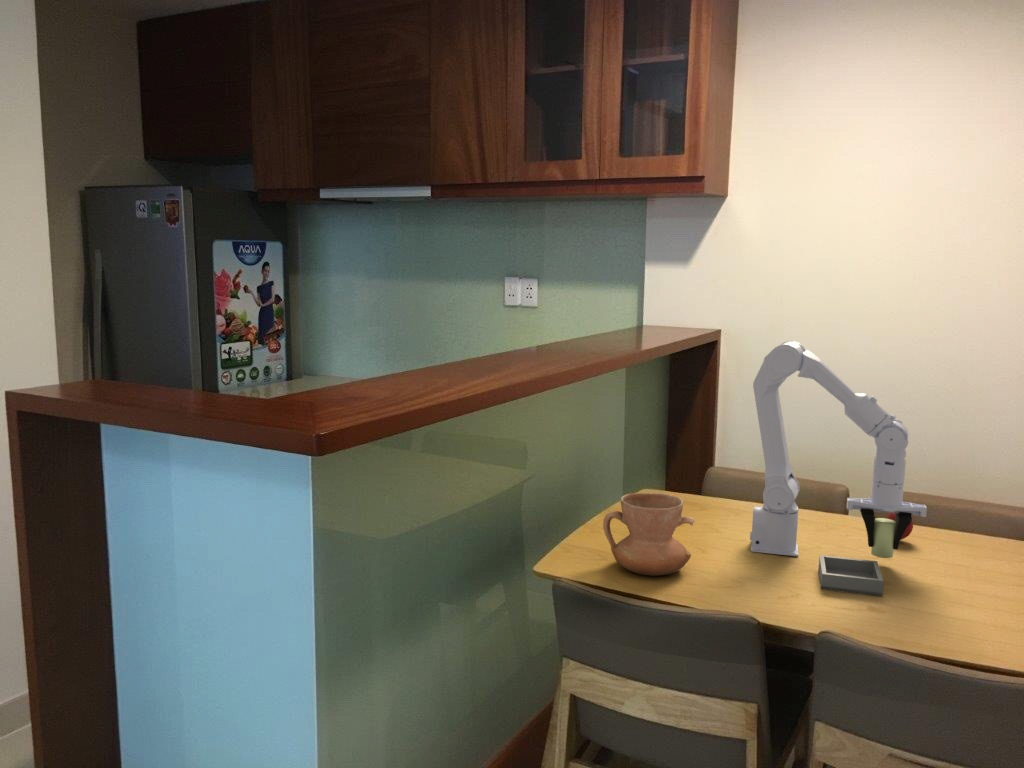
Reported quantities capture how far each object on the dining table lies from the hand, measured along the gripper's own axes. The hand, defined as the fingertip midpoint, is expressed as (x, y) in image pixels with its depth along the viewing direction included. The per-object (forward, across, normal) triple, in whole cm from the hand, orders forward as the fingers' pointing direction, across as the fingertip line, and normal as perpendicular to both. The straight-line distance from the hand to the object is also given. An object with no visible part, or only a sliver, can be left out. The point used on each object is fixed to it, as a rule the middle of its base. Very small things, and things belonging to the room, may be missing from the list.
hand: (882, 546), depth 169 cm
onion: (+4, +5, +17) cm, 18 cm away
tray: (+4, -7, -12) cm, 14 cm away
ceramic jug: (+4, -45, -17) cm, 48 cm away
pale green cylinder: (+2, 0, 0) cm, 2 cm away
